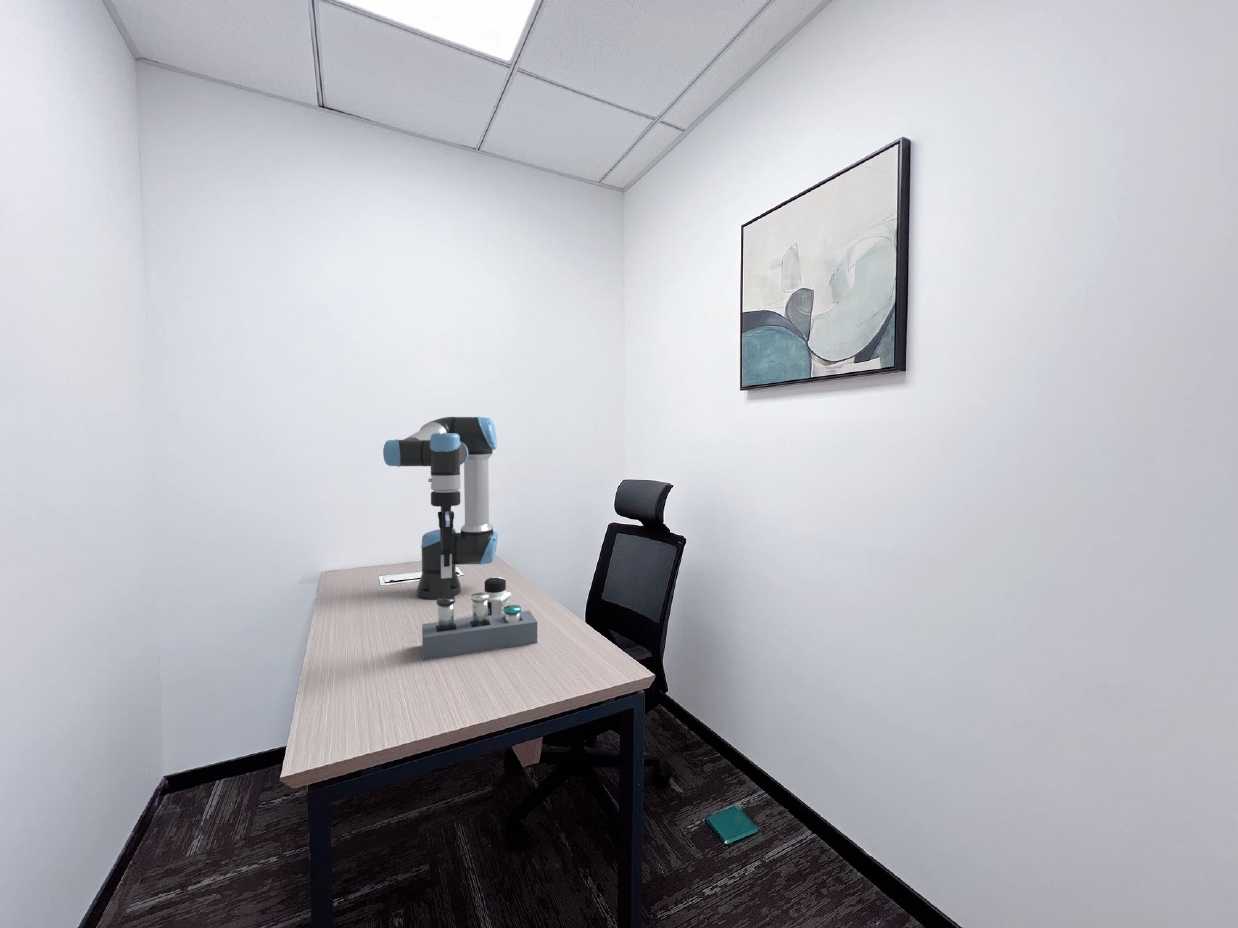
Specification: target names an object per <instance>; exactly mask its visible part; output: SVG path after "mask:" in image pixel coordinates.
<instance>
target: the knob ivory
mask: <svg viewBox="0 0 1238 928" xmlns="http://www.w3.org/2000/svg"><path fill="white" fill-rule="evenodd" d="M488 599H489V594H488V593H485V592H475V593H473V594H471V596H470V600H471V601H472V618H473V626H474V627H479V626H486V625H488V602H487V600H488Z"/></svg>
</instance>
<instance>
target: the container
mask: <svg viewBox="0 0 1238 928" xmlns="http://www.w3.org/2000/svg"><path fill="white" fill-rule="evenodd" d="M506 581H507V580H506V579H505V578H503V577H502V576H501V577H500V576H493V577H488V578H487V579H485V580H484V593H488V594H489V599H488V600H487V602H488V616H490V615H497V614H505V613H504V607H506V606H509V605H512V592H509V591H508V592H507V585H506V584H507V583H506Z"/></svg>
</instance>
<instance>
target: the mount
mask: <svg viewBox="0 0 1238 928" xmlns="http://www.w3.org/2000/svg"><path fill="white" fill-rule="evenodd" d="M421 634H422V636H421V638H422V642H421V643H422V644H421V645H422V646H421V647H422V656H423V657H422V658H423V661H427V660H435V659H440V658H447V657H453V656H458V655H460V656H461V655H466V654H474V653H478V652H479V653H480V652H486V651H492V650H498V649H499V650H500V649H507V648H512V647H518V646H527V645H532V644H537V643H538V621H537V619H536V618H535V617H534V615H533V614H532V611H530V610H523V611H522V610H521V612H520V621H516V622H509V623H505V614H497V615H490V616H488V625H486V626H479V627H474V626H473V617H466V618H460V619H454V629H453V630H449V631H442V632H440V631H439V630H438V621H435V622H428V623H422V624H421Z"/></svg>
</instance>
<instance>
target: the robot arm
mask: <svg viewBox="0 0 1238 928" xmlns="http://www.w3.org/2000/svg"><path fill="white" fill-rule="evenodd" d="M497 440H498V439H497V432H496V428H495V424H494V422H493V420H492V419H491V418H489V417H481V416H447V417H446V416H445V417H441V418H437V419H434V420H431V421H429V422H427V423H425V424H424V425H421V427H420V429H419V431H418V430H417V431H416V432H415V433H413V434H412V435H409V436H408V437H406V438H404V439H397V438H396V439H388V440H386V441H385V443H384V445H383V450H382V452H383V453H382V454H383V455H382V456H383V460H384V463H385V464H386V465H387V466H388V467H398V468H399V467H430V478H428V480H427V482H428V483H430V489H431V490H432V491H431V492H430V504H431V506H432V507H437V508H438V507H440V511H437V518H438V527H439V528H438V529H435V530H432V531H428V532H425V533H424V534H423V535H422V536H421V537H422V538H421V545H420V548H421V576H420V579H419V583H418V585H417V590H416V595H417V597H419V598H422V599H424V600H425V599H427V600H437V599H438V598H440V597H444V596H452V597H455V596H456V595H457V596H458V594H460V593H461V592H462V591H461V590H462V589H461V587H462V586H461V582H460V579H459V577H458V574H457V571H456V569H457V568H456V565H458V566H459V565H460V566H461V565H462V566H463V565H486V564H487V565H488V564H491V563H492V562H493V561H494V559H495V556H496V552H497V545H498V532H497V531H494V526H493V525H491V524H490V505H489V503H490V501H489V499H490V497H489V495H490V491H489V459H490V458H491V457H492V456H493V451H495V450H496V449H497V446H498V444H497ZM461 465H463V479H464V480H463V481H464V482H463V483H464V485H463V486H464V488H463V489H464V490H463V491H464V493H463V494H464V523H463V525H462V526H461V527H460V532H457V531H456V529H455V528H454V519H455V512H454V510H453V511H452V507H456V506H459V505H460V504H461V491H460V489H461V486H462V485H461Z"/></svg>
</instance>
